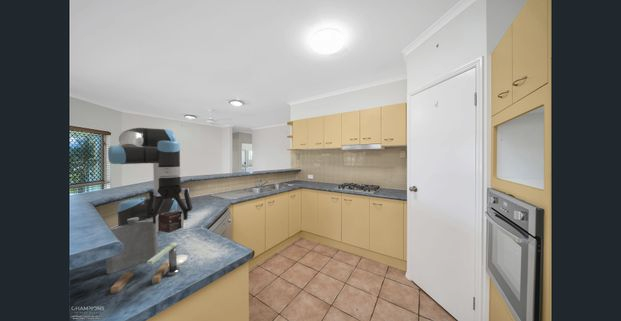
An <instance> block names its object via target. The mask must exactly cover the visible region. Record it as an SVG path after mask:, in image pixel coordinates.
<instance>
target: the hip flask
mask: <svg viewBox="0 0 621 321" xmlns="http://www.w3.org/2000/svg"><path fill="white" fill-rule="evenodd" d="M138 220H139V217H134V218H130V219H127V222H128V224H126V225H122V226H112V227H109V228H110V229H111V230H112V232H113V233H114V234H115V235H116V237H117V238H118V239H119V240H120V241H121V242H122V243H123V244H124V247H125V248H124V250H123V251H122V252H121V253H120V254H118V255H116V256H114V257H111V258H108V259H106V258H105V259H106V260H105V261H106V274H107V275H110V273H111V274H114V273H116V272H119V271H122V270H124V269H128V268H130V267H133V266H137V265H140V264H143V263H145V262H146V263H147V261H148V260H150V259H151V258H152V257H154V256H155V255H157V254H158V253H159V237H158V236H159V234H158V232H156V224H154V223H153V219H147V220H144V221H138Z"/></svg>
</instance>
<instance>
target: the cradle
mask: <svg viewBox="0 0 621 321" xmlns="http://www.w3.org/2000/svg"><path fill="white" fill-rule="evenodd" d="M168 270H169V268H168V263H165V264H162V263H161V264H160V266H159V268H158V269H157V271H156V272H155V273H154V275H153V277H152V278H151V285H154V284H159V283H160V281H161V280H162V278H163V277H164V275H166V272H167V271H168ZM133 276H134V270H133V269H131V270H128V271H127V270H126V271H125V272H124V273H123V274H122V275H121V277H120V278H118V280H117V281H115V283H114V284H113V285H112V286H111V287H110V295H111V294H112V295H113V294H116V293H119V292H120V291H121V290H122V289H123V288H124V287H125V285H126V284H127V283H128V282H129V281H131V279H132V278H133Z"/></svg>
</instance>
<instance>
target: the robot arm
mask: <svg viewBox="0 0 621 321" xmlns="http://www.w3.org/2000/svg"><path fill="white" fill-rule="evenodd" d="M118 142H119V144H118V145H111V146H109V147H108V150H107V153H108V154H107V155H108V156H107V158H108V162H109V163H110V164H111V165H112V164H113V165H129V164H131V165H137V164H152V165H153V166H152V168H153V172H152V173H153V190H151V191H149V193H148V195H149V198H147V197H146V196H141V197H140V196H139V197H133V198H130V199H126V200H123V201H120V202H119V203H118V204H117V210H116V212H117V225H118V226H122V225H126V224H128V222H127V219H130V218H134V217H139V220H138V221H144V220H149V219H152V220H153V223H154V224H156V232H160V231H159V214H162V213H166V212H170V211H178V210H177V209H178V206H179V208H180V209H181V212H182V213H181V227H182V228H181V229H184V228H185V227H186V220H188V215H189V214H188V212H190V211H192V209H193V205H192V201H191V197H190V188H183V187H182V185H181V184H182V182H181V154H180V153H181V152H180V151H181V148H180V142H179V141H177V140H176V136H175V132H174V131H173V130H171V129H165V128H152V127H151V128H148V127H135V128H130V129H127V130H124V131H122V132H120V134H119V136H118ZM180 193H182V194H183V195H184V197H183V198H184V200H185V203H184V201H183V199H182V198H181V195H180Z"/></svg>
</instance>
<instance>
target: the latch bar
mask: <svg viewBox="0 0 621 321" xmlns="http://www.w3.org/2000/svg"><path fill="white" fill-rule="evenodd" d="M175 247H176V248H177V247H178V242H170V243H167V246H166V247H165V248H163V249H162V250H160V252H159V251H158V254H157V255H155V256H154V257H152V258H151V259H150V260H148V261H147V262H146V265H154V263H156V262H157V261H158V260H159V259H161V258H163V256H165V255H166V254H168V253H169V251H170V250H171V249H173V248H175Z"/></svg>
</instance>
